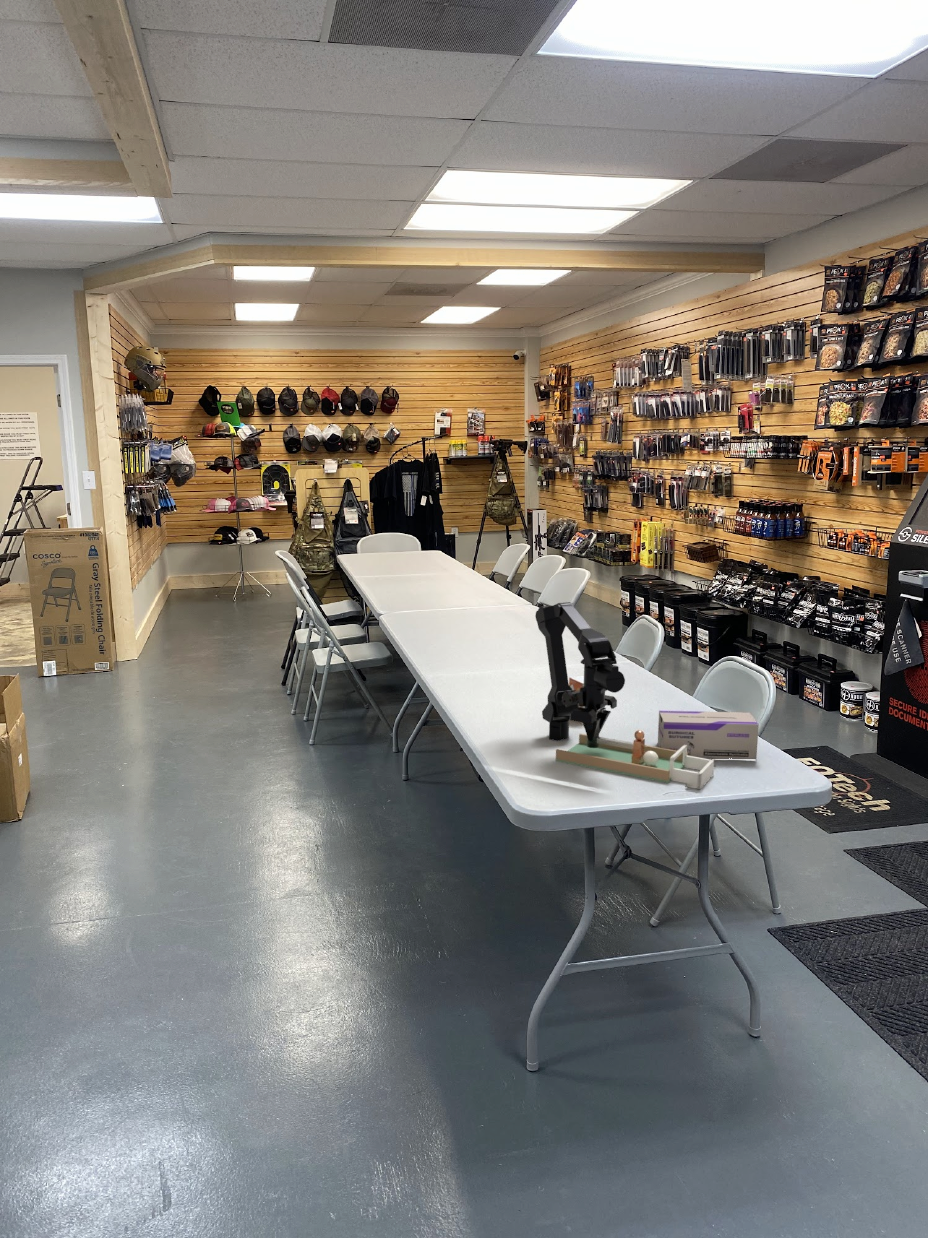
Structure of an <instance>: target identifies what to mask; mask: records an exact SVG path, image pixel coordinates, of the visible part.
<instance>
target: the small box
mask: <svg viewBox="0 0 928 1238" xmlns="http://www.w3.org/2000/svg"><path fill="white" fill-rule="evenodd" d="M568 683H569V686H570V687H571V688H572V690H576V691H578V690H580V688H581V687H583V686H584V674H582V675H577V676H569V677H568ZM578 705H579V704H578ZM579 707H581V706H579ZM582 708H585V706H583V707H582ZM579 724H583V723H582V722H579Z"/></svg>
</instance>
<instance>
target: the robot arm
mask: <svg viewBox="0 0 928 1238" xmlns="http://www.w3.org/2000/svg"><path fill="white" fill-rule="evenodd" d="M535 621H536V623H537V627H538V630H539V631H540V633H541V635H543V636H544V638H545V644H546V645H545V646H546V652H547V653H546V654H547V660H548V661H547V662H548V668H549V676H550V683H551V687H550V690H549V692H548V694H547V704H546V705H545V706H544V708H543V710H542V711H541V713H542V714H541V715H542V719H543V720H545V721H547V722H548V723H549V724H548V725H549V727H548V729H549V731H548V735H549V737H548V738H549V740H551V741H563V740H568V739H569V737H570V721H572V722H578V723H580V722H582V723H583V727H584V730H585V735H587V738H588V740H589V741H593V738H594V736H595V733H596V730H597V727H598V725H599V734H601V732H602V729H603V727H604V726H605V723H606V721H607V720H608V717H609V715H611V713H612V712H611V710H607V707H606V706H609V707H610V709H615V708H616V707H618V699H617V698H616V697H615V696H613V695H607V694H606V692H607V691H609V692H611V693H615V694H616V693H619V692H620V691H621V690H622V689H623V688H624V685H625V683H626V678H625V675H624V674H623V673H622V672H621V671H620V670H619V669H620V667H619V666H618V665H617V664H618V661H617V656H616V654H615V652H614V649H613V646H612V643H611V641H610V640H609V638H608V637H607V636H606V635H605V634H603V633H602V632H600V631H597V630H594V629H593V628H592V627H591V626H590V625H589V623H588V622H586V620H585V619H584V617H583V616H582V615H581V614H580V612H578V610H577V609H576V606H575V604H574V603H573V602H567V601H565V602H558V603H556V604H553V605H545V606H540V607H538V609H537V610H536V612H535ZM566 627H567V629H568V630H569V631H570V633H571V634H572V635H573V636H574V638H575V639H576V641H577V642H578V644H577V650H578V651H579V652H580V655H581V656H582V658H583V659H581V660H580V664H582V665H583V669H584V670H583V675H584V686H583V687H581V688H580V690H578V691H576V690H572V688H571V687H570V686H569V677H568V671H567V662H566V655H565V648H564V647H565V646H564V640H563V634H564V631H565V629H566ZM578 704H579V705H578ZM579 706H581V707H579ZM583 706H585V708H582V707H583Z"/></svg>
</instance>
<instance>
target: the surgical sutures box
mask: <svg viewBox="0 0 928 1238" xmlns="http://www.w3.org/2000/svg"><path fill="white" fill-rule="evenodd" d="M657 725H658V726H657V727H658V729H657V730H658V731H657V744H658V747H659V748H664V749H670V750H676V751H678V750H679V749H680V748H681V747H682V746H683V745H687V753H688V756H693V757H702V758H705V757H707V758H708V757H709V758H710V757H711V759H729V758H730V759H731V758H732V759H756V760H757V756H758V755H757V754H758V743H759V741H758V740H759V723H758V721H756V719H755V717H754V716H753V715H752V714H751V712H740V711H739V712H737V711H736V712H735V711H734V712H733V711H731V712H730V711H729V712H728V711H694V710H693V711H688V710H685V711H684V710H683V711H682V710H681V711H680V710H658V724H657Z"/></svg>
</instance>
